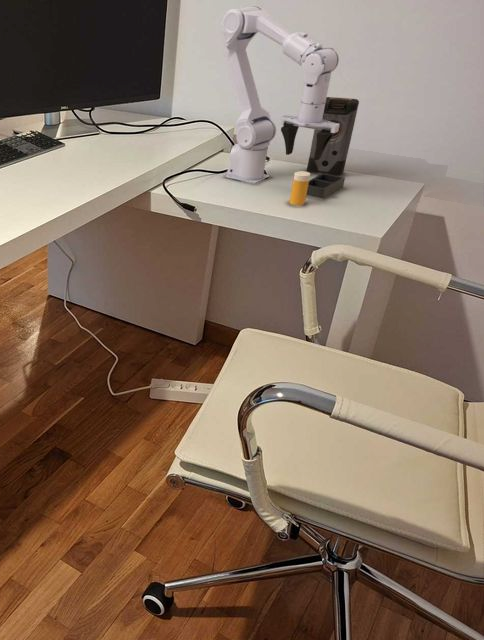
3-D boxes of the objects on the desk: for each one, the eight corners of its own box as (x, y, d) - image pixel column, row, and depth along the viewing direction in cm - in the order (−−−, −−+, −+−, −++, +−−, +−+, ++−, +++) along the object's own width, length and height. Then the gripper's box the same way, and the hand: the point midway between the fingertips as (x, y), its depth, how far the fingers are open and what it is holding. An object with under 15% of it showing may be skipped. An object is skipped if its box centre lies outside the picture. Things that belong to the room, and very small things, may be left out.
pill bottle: (286, 204, 169) (291, 173, 165) (293, 200, 172) (299, 170, 167) (300, 207, 167) (306, 176, 163) (307, 203, 169) (313, 173, 165)
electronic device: (304, 174, 188) (319, 101, 177) (309, 168, 192) (323, 96, 181) (340, 178, 184) (356, 103, 173) (344, 172, 188) (360, 98, 177)
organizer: (299, 194, 175) (302, 184, 173) (320, 183, 181) (322, 173, 180) (322, 200, 171) (324, 189, 169) (342, 188, 177) (345, 177, 176)
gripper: (277, 101, 167) (269, 154, 174) (334, 109, 158) (322, 165, 165) (291, 95, 171) (282, 148, 178) (347, 103, 162) (335, 159, 169)
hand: (302, 156), depth 172 cm, fingers open, 7 cm apart
